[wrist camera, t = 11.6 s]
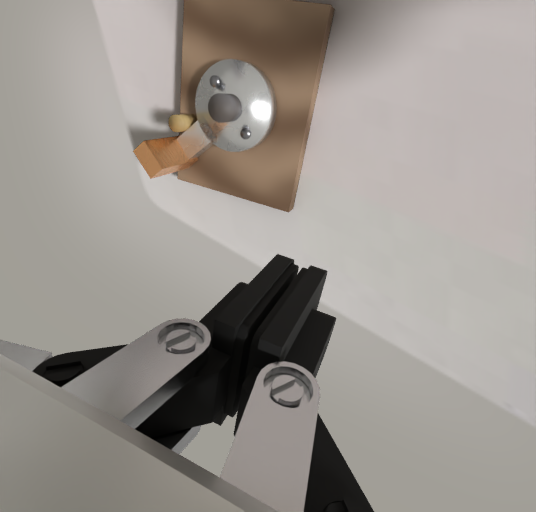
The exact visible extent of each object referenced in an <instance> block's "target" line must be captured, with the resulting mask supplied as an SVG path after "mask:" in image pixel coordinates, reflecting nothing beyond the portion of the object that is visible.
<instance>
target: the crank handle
mask: <svg viewBox="0 0 536 512" xmlns="http://www.w3.org/2000/svg"><path fill="white" fill-rule="evenodd" d="M217 93H225V94H234V95H235V96H237V97H238V98H239V100H240V102H241V105H242V112H241V115H240V117H239V118H238V119H237V120H236V121H233V122H223V123H219V122H216V121H214V120H213V119H212V118H211V116H210V114H209V111H208V102H209V100H210V98H211V97H212V96H213V95H214V94H217ZM195 108H196V115H197V119H198V120H197V121H196V122H195V123H194V124H193V125H192V126H191V127H190V128H188V129H187V130H186V131H185V132H184V133H183V134H182V135H181V136H175V137H168V138H160V139H153V140H146V141H143V142H142V143H141V144H140V145H139V146H138V147H137V148H136V149H135V150H134V151H133V152H134V153H135V155H136V156H137V158H138V160H139V161H140V163H141V164H142V166H143V167H144V169H145V170H146V172H147V174H148V175H149V177H150V178H155V177H158V176H162V175H166V174H169V173H173V172H176V171H180V170H184V169H187V168H189V167H190V166H192V165H193V164H194V163H195V162H197V161H198V158H197V157H198V156H200V155H201V154H202V153H203V152H204V151H206V150H207V149H208V148H209V147H211V146H212V145H213V144H214V145H216V146H217V147H219V148H221V149H223V150H226V151H230V152H240V151H244V150H248V149H252V148H254V147H256V146H258V145H259V144H261V143H262V142H263V141H264V140H265V139H266V138H267V136H268V135H269V134H270V132H271V130H272V128H273V125H274V123H275V118H276V112H277V103H276V96H275V92H274V89H273V86H272V84H271V82H270V80H269V79H268V77H267V76H266V75H265V74H264V72H263V71H262V70H260V69H259V68H258V67H256V66H255V65H253V64H251V63H248V62H245V61H241V60H236V59H226V60H222V61H219V62H217V63H215V64H214V65H212V66H211V67H210V68H209V69H208V70H207V71H206V72H205V73H204V75H203V76H202V78H201V80H200V82H199V85H198V87H197V91H196V98H195Z"/></svg>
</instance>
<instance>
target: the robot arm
mask: <svg viewBox="0 0 536 512" xmlns="http://www.w3.org/2000/svg"><path fill="white" fill-rule="evenodd" d="M298 268H299V267H298V266H297V265H295V264H294V260H293V259H290V258H288V257H285V256H282V255H279V254H277V255H276V256H275V257H274V258H273V259H272V260H271V261H270V262H269V263H268V264H267V265H266V266H265V267H264V268H263V270H262V271H261V272H260V273H259V274H258V275H257V276H256V277H255V278H254V279H253V280H252V281H251V282H250V283H249V284H246V283H243V282H240V283H239V284H237V285H236V286H235V287H234V288H233V289H232V290H231V291H230V292H229V293H228V294H227V295H226V296H225V297H224V298H223V299H222V300H221V301H220V302H219V303H218V304H217V305H216V306H215V307H214V308H213V309H212V310H211V311H210V312H209V313H207V314H206V315H205V316H204V317H203V318H202V319H201V320H200V321H199V322H197V321H195V320H191V319H173V320H169V321H166V322H164V323H162V324H160V325H158V326H157V327H155V328H154V329H152V330H150V331H149V332H147V333H146V334H144V335H142V336H141V337H139V338H138V339H136V340H135V341H133V342H132V343H130V344H128V345H120V346H113V347H107V348H99V349H91V350H84V351H77V352H70V353H65V354H61V355H57V356H54V357H52V353H51V352H48V351H44V350H39V349H35V348H32V347H27V346H24V345H19V344H15V343H11V342H7V341H3V340H0V512H374V511H373V509H372V508H371V505H370V504H369V502H368V500H367V498H366V497H365V495H364V493H363V491H362V490H361V488H360V486H359V484H358V483H357V481H356V479H355V477H354V476H353V474H352V472H351V470H350V468H349V467H348V465H347V463H346V461H345V460H344V458H343V456H342V454H341V453H340V451H339V449H338V448H337V446H336V444H335V442H334V440H333V439H332V437H331V435H330V433H329V432H328V430H327V428H326V426H325V424H324V423H323V421H322V419H321V418H320V416H319V414H318V407H319V400H320V387H319V385H318V383H317V380H316V379H315V378H316V375H317V373H318V370H319V368H320V365H321V362H322V360H323V357H324V354H325V352H326V349H327V346H328V343H329V340H330V337H331V334H332V331H333V328H334V325H335V321H336V318H335V317H333V316H330V315H328V314H325V313H322V312H320V311H317V307H318V304H319V300H320V297H321V293H322V290H323V286H324V283H325V279H326V276H327V271H326V270H323V269H320V268H317V267H314V266H310V267H309V268H308V269H306V268H302V269H301V270H300V272H299V273H298ZM297 273H298V275H297ZM237 411H238V413H237V419H236V425H235V431H234V436H235V438H234V441H233V443H232V446H231V448H230V451H229V454H228V457H227V459H226V462H225V465H224V467H223V470H222V473H221V475H220V478H219V477H217V476H216V475H214V474H212V473H210V472H209V471H207V470H205V469H204V468H202V467H200V466H198V465H196V464H195V463H193V462H191V461H189V460H188V459H186V458H184V457H183V456H181V455H179V454H180V453H181V452H182V451H183V450H184V449H185V447H186V446H187V445H188V444H189V443H190V442H191V441H192V440H193V439H194V438H195V437H196V435H197V434H198V432H199V431H200V427H201V425H204V424H208V423H212V422H214V423H216V424H219V425H220V426H221V424H222V423H223V421H224V420H225V418H226V416H227V415H229V416H231V417H233V416H234V415H235V414H236V412H237Z"/></svg>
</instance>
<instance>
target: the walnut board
mask: <svg viewBox="0 0 536 512" xmlns="http://www.w3.org/2000/svg"><path fill="white" fill-rule="evenodd" d="M334 10H335V9H334V8H333V7H332V6H331V5H329V4H320V3H311V2H303V1H294V0H184V17H183V44H182V71H181V98H180V115H172V116H170V118H169V127H170V129H171V130H172V131H174V132H179V136H181V135H182V134H183V133H184V132H185V131H186V130H187V129H188V128H190V127H191V126H192V125H193V124H194V123H195V122H196V121H197V120H198V119H197V115H196V108H195V98H196V91H197V87H198V85H199V82H200V80H201V78H202V76H203V75H204V73H205V72H206V71H207V70H208V69H209V68H210V67H211V66H212V65H214V64H215V63H217V62H219V61H222V60H226V59H236V60H241V61H245V62H248V63H251V64H253V65H255V66H256V67H258V68H259V69H260V70H262V71H263V72H264V74H265V75H266V76H267V77H268V79H269V80H270V82H271V84H272V86H273V89H274V92H275V96H276V103H277V112H276V118H275V123H274V125H273V128H272V130H271V132H270V134H269V135H268V136H267V138H266V139H265V140H264V141H263V142H262V143H261V144H259V145H258V146H256V147H254V148H252V149H248V150H244V151H240V152H230V151H226V150H223V149H221V148H219V147H217V146H216V145H214V144H213V145H212V146H211V147H209V148H208V149H207V150H206V151H204V152H203V153H202V154H201V155H200V156H198V157H197V158H198V161H197V162H195V163H194V164H193V165H192V166H190V167H189V168H187V169H184V170H180V171H178V179H180V180H183V181H186V182H190V183H193V184H196V185H200V186H203V187H206V188H210V189H213V190H216V191H220V192H223V193H226V194H230V195H233V196H236V197H240V198H243V199H246V200H250V201H253V202H256V203H259V204H263V205H266V206H269V207H273V208H276V209H279V210H283V211H286V212H289V211H291V210H292V209H293V207H294V202H295V197H296V192H297V188H298V183H299V178H300V173H301V168H302V163H303V159H304V154H305V149H306V144H307V139H308V135H309V130H310V125H311V120H312V115H313V111H314V106H315V101H316V96H317V91H318V87H319V82H320V77H321V72H322V67H323V63H324V58H325V53H326V48H327V43H328V38H329V34H330V29H331V24H332V19H333V14H334ZM208 111H209V114H210V116H211V118H212V119H213V120H214V121H216V122H219V123H223V122H233V121H236V120H237V119H238V118H239V117H240V115H241V112H242V105H241V102H240V100H239V98H238V97H237V96H235V95H234V94H225V93H217V94H214V95H213V96H212V97H211V98H210V100H209V102H208Z"/></svg>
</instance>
